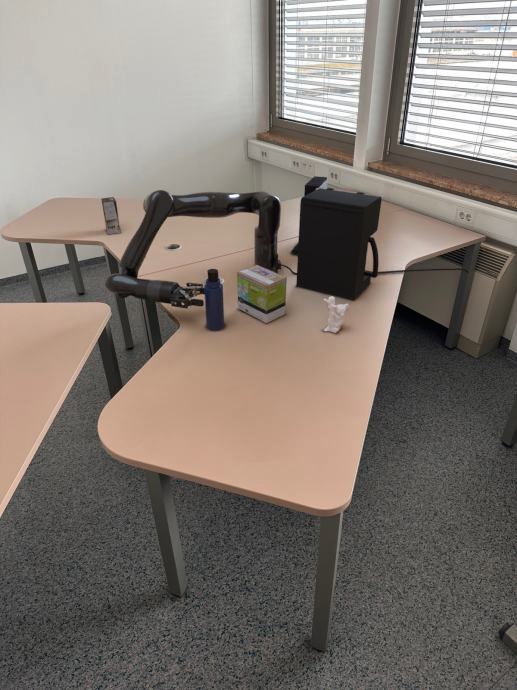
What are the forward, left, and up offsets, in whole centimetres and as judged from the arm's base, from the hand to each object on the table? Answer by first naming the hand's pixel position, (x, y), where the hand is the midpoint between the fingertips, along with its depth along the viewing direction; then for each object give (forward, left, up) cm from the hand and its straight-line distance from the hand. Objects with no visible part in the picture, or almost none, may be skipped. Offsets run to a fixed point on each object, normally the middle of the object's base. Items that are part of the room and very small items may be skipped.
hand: (208, 297), depth 159 cm
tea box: (-19, -7, -11) cm, 23 cm away
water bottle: (-2, +1, -10) cm, 11 cm away
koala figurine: (-41, +9, -11) cm, 43 cm away
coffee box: (+42, -106, -11) cm, 115 cm away
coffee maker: (-53, -25, -11) cm, 59 cm away
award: (-56, -70, -11) cm, 90 cm away
